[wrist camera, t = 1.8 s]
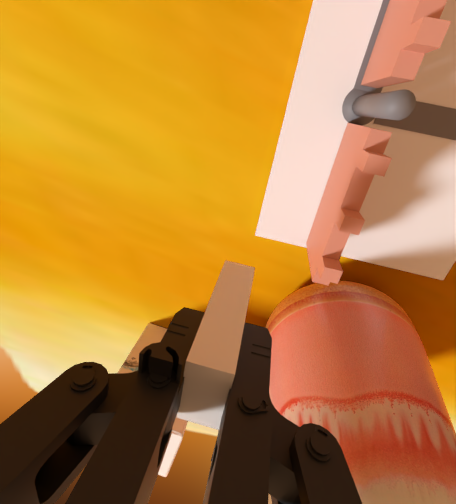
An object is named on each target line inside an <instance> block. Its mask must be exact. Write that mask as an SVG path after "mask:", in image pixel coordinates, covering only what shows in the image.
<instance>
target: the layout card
mask: <svg viewBox="0 0 456 504" xmlns="http://www.w3.org/2000/svg"><path fill="white" fill-rule="evenodd" d="M389 1H390V0H313V4H312V8H311V12H310V16H309V20H308V24H307V28H306V32H305V36H304V40H303V44H302V48H301V52H300V56H299V60H298V64H297V68H296V72H295V76H294V80H293V84H292V88H291V92H290V96H289V100H288V104H287V108H286V112H285V116H284V120H283V124H282V128H281V132H280V136H279V140H278V144H277V148H276V153H275V157H274V161H273V165H272V169H271V173H270V177H269V181H268V185H267V189H266V193H265V197H264V201H263V205H262V209H261V213H260V217H259V221H258V225H257V229H256V233H255V235H256V236H260V237H264V238H268V239H272V240H276V241H281V242H285V243H289V244H293V245H297V246H301V247H306V248H307V245H306V242H307V239H308V236H309V233H310V230H311V228H312V225H313V222H314V219H315V216H316V213H317V210H318V207H319V204H320V201H321V199H322V196H323V193H324V190H325V187H326V184H327V181H328V178H329V175H330V172H331V169H332V167H333V164H334V161H335V158H336V155H337V152H338V149H339V146H340V143H341V140H342V138H343V135H344V132H345V129H346V126H347V123H352V124H357V125H362V126H366V127H370V128H375V129H379V130H383V131H388V132H392V134H391V137H390V139H389V141H388V144H387V146H386V149H385V151H384V153H383V154H384V155H386V156H388V157H390V158H392V160H391V162H390V164H389V167H388V169H387V171H386V173H385V176H379V175H374V177H373V180H372V182H371V185H370V187H369V189H368V192H367V194H366V197H365V199H364V201H363V204H362V206H361V209H360V211H359V212H360V214H361V215H362V217H363V218H364V219H365V222H364V224H363V227H362V229H361V231H360V234H359V235H355V234H351V233H350V235H349V238H348V240H347V242H346V245H345V247H344V250H343V252H342V254H341V256H343V257H347V258H351V259H356V260H360V261H364V262H368V263H372V264H376V265H381V266H385V267H389V268H393V269H397V270H401V271H406V272H410V273H414V274H418V275H422V276H426V277H431V278H435V279H439V280H444V278H445V277H446V275H447V274H448V272H449V271H450V269H451V267H452V266H453V264H454V263H455V261H456V0H447V2H446V4H445V7H444V9H443V12H442V14H441V16H440V19H442V20H448V21H451V23H450V26H449V28H448V30H447V32H446V35H445V37H444V39H443V42H442V44H441V46H440V48H438V49H436V50H433V51H431V52H428V53H425V55H424V57H423V60H422V62H421V65H420V67H419V69H418V72H417V74H416V77H415V79H414V81H409V82H404V83H399V84H395V85H390V86H385V87H380V88H373V87H368V86H363V85H361V82H362V79H363V77H364V74H365V71H366V68H367V65H368V62H369V59H370V56H371V53H372V50H373V48H374V45H375V42H376V39H377V36H378V33H379V30H380V27H381V24H382V21H383V18H384V16H385V13H386V10H387V7H388V4H389ZM402 89H406V90H410V91H411V92H413V94H414V95H415V98H416V105H415V108H414V110H413V111H412V113H411V114H410V115H409V116H408V117H406V118H404V119H402V120H390V119H381V118H372V117H364V116H357V115H355V114H354V113H353V111H352V105H353V102H354V101H355V99H356V98H358V97H359V96H363V95H370V94H376V93H383V92H389V91H396V90H402Z"/></svg>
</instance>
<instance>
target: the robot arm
mask: <svg viewBox="0 0 456 504" xmlns="http://www.w3.org/2000/svg"><path fill="white" fill-rule="evenodd" d="M254 270H255V268H254V267H250V266H246V265H242V264H238V263H234V262H230V261H226V260H225V263H224V265H223V268H222V271H221V273H220V276H219V278H218V281H217V283H216V286H215V288H214V291H213V293H212V296H211V298H210V301H209V304H208V306H207V309H206V311H205V313H204V312H201V311H197V310H193V309H189V308H185V307H184V308H183V309H181V310H180V311H178V312H177V313H176V314H175V315H174V317H173V319H172V321H171V323H170V325H169V327H168V329H167V331H166V332H165V334H164V336H163V338H162V340H161V342H158V343H152V344H150V345H148V346H146V347H144V348H143V350H142V351H141V352H140V353H139V365H138V370H137V371H134V372H131V373H118V374H108V372H107V369H106V368H105V367H103V366H102V365H101V364H98V363H95V362H84V363H80V364H77V365H74V366H73V367H71V368H69V369H68V370H66V371H65V372H64V373H63V374H61V375H60V376H59V377H58V378H56V379H55V380H54V381H53V382H51V383H50V384H49V385H48V386H47V387H45V388H44V389H43V390H42V391H40V392H39V393H38V394H37V395H36V396H34V397H33V398H32V399H31V400H30V401H28V402H27V403H26V404H25V405H23V406H22V407H21V408H20V409H18V410H17V411H16V412H15V413H14V414H12V415H11V416H10V417H9V418H7V419H6V420H5V421H4V422H2V423H1V424H0V504H55V503H56V501H57V500H58V499H59V498H60V496H61V495H62V494H63V493H64V491H65V490H66V489H67V488H68V487H69V485H70V484H71V483H72V482H73V481H74V479H75V478H76V477H77V476H78V475H79V473H80V472H81V471H82V470H83V468H84V467H85V466H86V467H85V469H84V471H83V473H82V474H81V476H80V478H79V480H78V482H77V483H76V485H75V487H74V489H73V491H72V492H71V494H70V496H69V498H68V500H67V502H66V503H65V504H148V501H149V498H150V496H151V492H152V490H153V487H154V484H155V481H156V478H157V475H158V472H159V469H160V467H161V464H162V461H163V458H164V455H165V452H166V449H167V446H168V443H169V441H170V438H171V434H172V428H173V424H174V421H175V418H176V415H177V418H180V419H183V420H186V421H190V422H193V423H197V424H200V425H204V426H207V427H210V428H214V429H217V430H219V432H218V437H217V441H216V445H215V448H214V452H213V455H212V459H211V461H212V463H211V468H210V472H209V477H208V482H207V487H206V491H205V496H204V501H203V504H268V493H269V494H270V495H271V499H272V504H362V501H361V499H360V496H359V493H358V491H357V488H356V485H355V483H354V480H353V477H352V475H351V472H350V470H349V467H348V464H347V462H346V459H345V456H344V454H343V451H342V448H341V446H340V445H339V443H338V441H337V439H336V438H335V437H334V436H333V435H332V434H331V433H330V432H329V430H327V429H325V428H324V427H322V426H320V425H317V424H313V423H308V424H303V425H302V426H301V427H299V426H297V425H296V424H294V423H293V422H291V421H289V420H288V419H286V418H285V417H284V416H282V415H281V414H280V413H279V412H278V411H277V410H276V409H275V407H274V405H273V404H272V402H271V399H270V394H269V386H270V368H271V349H272V337H271V335H270V333H269V330H268V328H265V327H261V326H257V325H253V324H249V323H246V322H245V318H246V313H247V308H248V302H249V297H250V292H251V286H252V281H253V276H254Z"/></svg>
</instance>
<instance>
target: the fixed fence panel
mask: <svg viewBox="0 0 456 504" xmlns="http://www.w3.org/2000/svg"><path fill="white" fill-rule="evenodd" d="M446 2H447V0H390V1H389V4H388V7H387V10H386V13H385V16H384V18H383V21H382V24H381V27H380V30H379V33H378V36H377V39H376V42H375V45H374V48H373V50H372V53H371V56H370V59H369V62H368V65H367V68H366V71H365V74H364V77H363V79H362V82H361V85H363V86H368V87H373V88H380V87H385V86H390V85H395V84H399V83H404V82H409V81H414V79H415V77H416V74H417V72H418V69H419V67H420V65H421V62H422V60H423V57H424V55H425V53H428V52H431V51H433V50H436V49H438V48H440V46H441V44H442V42H443V39H444V37H445V35H446V32H447V30H448V28H449V26H450V23H451V21H448V20H442V19H440V16H441V14H442V12H443V9H444V7H445V4H446ZM415 105H416V98H415V95H414V94H413V92H411V91H410V90H406V89H402V90H396V91H389V92H383V93H376V94H370V95H363V96H359V97H358V98H356V99H355V101H354V102H353V105H352V111H353V113H354V114H355V115H357V116H364V117H372V118H381V119H390V120H402V119H404V118H406V117H408V116H409V115H410V114H411V113H412V111H413V110H414V108H415Z"/></svg>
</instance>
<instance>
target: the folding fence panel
mask: <svg viewBox="0 0 456 504" xmlns="http://www.w3.org/2000/svg"><path fill="white" fill-rule="evenodd" d="M391 134H392V132H388V131H383V130H379V129H375V128H370V127H366V126H362V125H357V124H352V123H347V126H346V129H345V132H344V135H343V138H342V140H341V143H340V146H339V149H338V152H337V155H336V158H335V161H334V164H333V167H332V169H331V172H330V175H329V178H328V181H327V184H326V187H325V190H324V193H323V196H322V199H321V201H320V204H319V207H318V210H317V213H316V216H315V219H314V222H313V225H312V228H311V230H310V233H309V236H308V239H307V242H306V245H307V251H308V258H309V264H310V270H311V276H312V282H315V283H319V284H323V285H327V286H329V283H330V282H331V283H335V284H338V282H339V280H340V277H341V275H342V273H343V270H342V267H341V264H340V262H339V259H340V257H341V254H342V252H343V250H344V247H345V245H346V242H347V240H348V238H349V235H350V233H351V234H355V235H359V234H360V231H361V229H362V227H363V224H364V222H365V219H364V218H363V217H362V215H361V214H360V212H359V211H360V209H361V206H362V204H363V201H364V199H365V197H366V194H367V192H368V189H369V187H370V185H371V182H372V180H373V177H374V175H379V176H385V173H386V171H387V169H388V167H389V164H390V162H391V160H392V158H390V157H388V156H386V155H384V154H383V153H384V151H385V149H386V146H387V144H388V141H389V139H390V137H391Z"/></svg>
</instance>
